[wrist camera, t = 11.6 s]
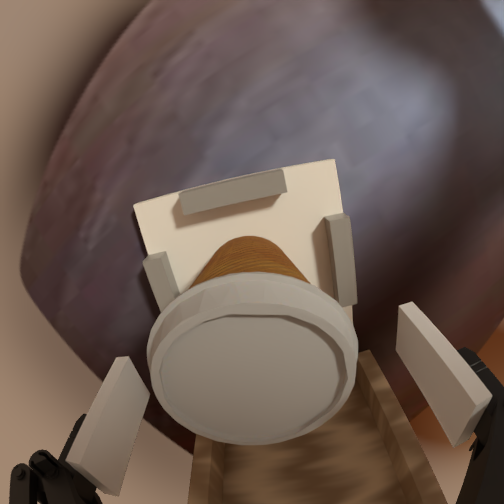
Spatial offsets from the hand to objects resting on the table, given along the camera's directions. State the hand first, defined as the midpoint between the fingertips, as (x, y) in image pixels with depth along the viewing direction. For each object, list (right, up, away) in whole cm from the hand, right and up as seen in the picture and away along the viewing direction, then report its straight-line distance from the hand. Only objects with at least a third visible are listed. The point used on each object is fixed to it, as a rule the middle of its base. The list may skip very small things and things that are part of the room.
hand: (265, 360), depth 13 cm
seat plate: (0, +3, +10) cm, 11 cm away
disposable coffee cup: (-1, +3, +10) cm, 10 cm away
